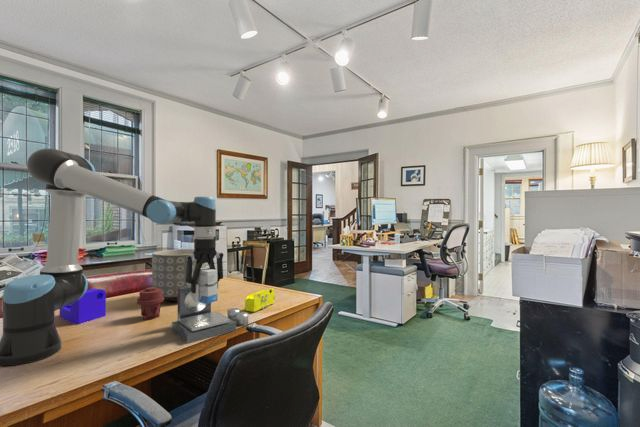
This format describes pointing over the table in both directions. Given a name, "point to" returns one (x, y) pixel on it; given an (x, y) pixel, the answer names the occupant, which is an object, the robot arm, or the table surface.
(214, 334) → the base
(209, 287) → the ink box
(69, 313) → the bracket
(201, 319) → the scale pan
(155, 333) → the table surface
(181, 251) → the planter
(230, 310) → the cylinder
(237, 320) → the cylinder
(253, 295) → the yellow toy chassis
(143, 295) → the mechanical component
